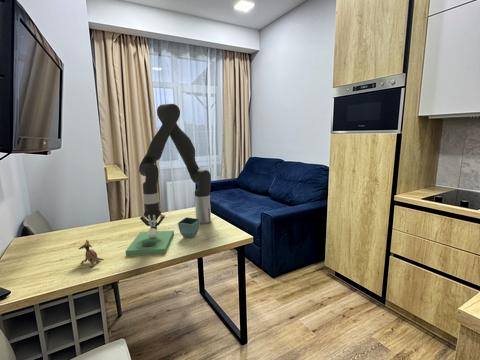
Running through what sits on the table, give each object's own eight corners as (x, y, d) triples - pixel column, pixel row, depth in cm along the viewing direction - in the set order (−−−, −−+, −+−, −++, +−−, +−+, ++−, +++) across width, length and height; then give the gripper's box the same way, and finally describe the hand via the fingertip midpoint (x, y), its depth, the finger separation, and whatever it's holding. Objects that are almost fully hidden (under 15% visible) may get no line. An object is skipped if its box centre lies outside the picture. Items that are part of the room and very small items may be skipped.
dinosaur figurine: (76, 261, 112) (73, 242, 110) (90, 256, 117) (87, 237, 115) (92, 270, 105) (89, 250, 103) (106, 264, 110) (104, 244, 108)
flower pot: (193, 240, 132) (192, 224, 130) (178, 238, 135) (177, 222, 133) (200, 234, 140) (200, 218, 138) (186, 232, 143) (186, 217, 141)
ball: (159, 228, 133) (156, 227, 128) (158, 237, 132) (156, 237, 127) (149, 228, 132) (146, 228, 128) (148, 238, 131) (146, 238, 126)
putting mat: (174, 234, 140) (173, 230, 139) (165, 253, 118) (165, 248, 118) (140, 236, 138) (140, 231, 138) (126, 255, 117) (125, 250, 116)
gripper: (166, 198, 134) (168, 229, 138) (140, 199, 133) (143, 230, 137) (162, 203, 127) (165, 235, 130) (135, 203, 126) (139, 236, 129)
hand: (154, 232), depth 133 cm, fingers closed
